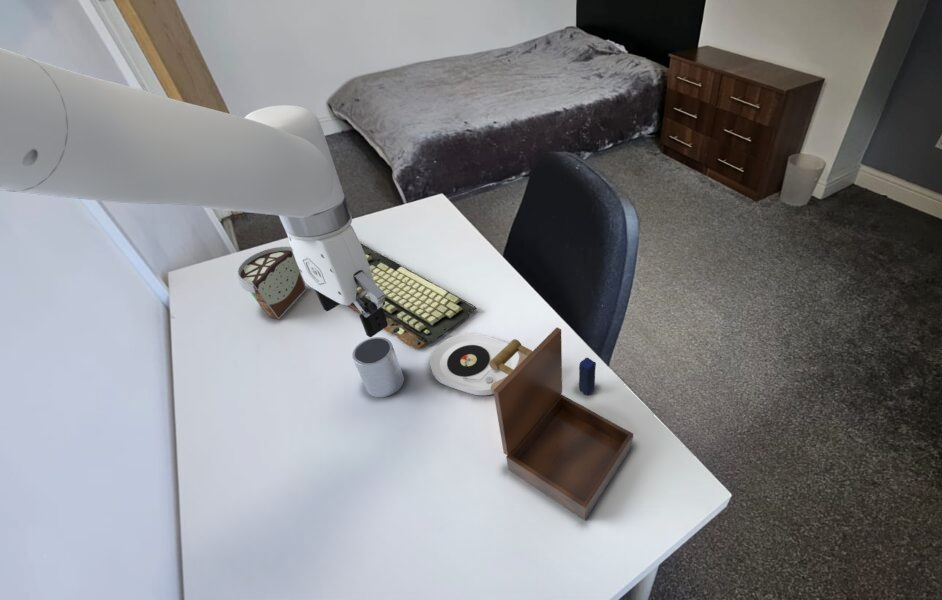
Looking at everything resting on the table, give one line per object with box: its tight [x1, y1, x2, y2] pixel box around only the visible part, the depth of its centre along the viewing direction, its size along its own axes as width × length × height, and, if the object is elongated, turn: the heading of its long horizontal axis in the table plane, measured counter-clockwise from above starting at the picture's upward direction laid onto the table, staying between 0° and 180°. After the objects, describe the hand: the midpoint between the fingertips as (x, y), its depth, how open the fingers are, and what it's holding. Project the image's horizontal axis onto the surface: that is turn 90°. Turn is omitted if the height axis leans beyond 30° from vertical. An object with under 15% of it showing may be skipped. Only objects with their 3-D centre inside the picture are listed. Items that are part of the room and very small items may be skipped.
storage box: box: [505, 393, 634, 521], centre depth 68 cm, size 13×13×4 cm
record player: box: [429, 332, 527, 396], centre depth 81 cm, size 12×3×20 cm
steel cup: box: [351, 336, 405, 398], centre depth 77 cm, size 6×6×8 cm
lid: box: [489, 327, 563, 456], centre depth 66 cm, size 14×13×5 cm
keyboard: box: [347, 242, 477, 350], centre depth 97 cm, size 45×15×2 cm, turn 54°
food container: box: [237, 246, 308, 321], centre depth 91 cm, size 12×6×10 cm, turn 172°
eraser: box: [578, 357, 597, 396], centre depth 77 cm, size 2×2×7 cm
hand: (355, 318), depth 69 cm, fingers open, 9 cm apart
